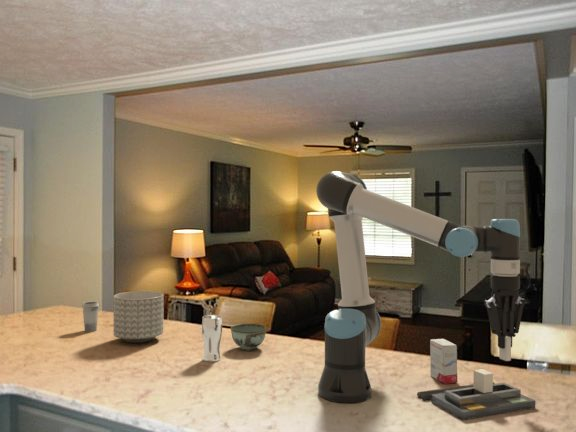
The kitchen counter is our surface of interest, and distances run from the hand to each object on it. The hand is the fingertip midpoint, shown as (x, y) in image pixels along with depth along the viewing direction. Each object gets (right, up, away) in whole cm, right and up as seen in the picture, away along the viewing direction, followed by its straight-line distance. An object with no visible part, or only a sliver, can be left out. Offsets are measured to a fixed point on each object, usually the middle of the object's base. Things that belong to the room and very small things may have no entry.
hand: (505, 359), depth 143 cm
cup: (-144, -9, +77) cm, 164 cm away
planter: (-120, -10, +61) cm, 135 cm away
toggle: (-7, -10, -2) cm, 12 cm away
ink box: (-12, -12, +19) cm, 25 cm away
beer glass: (-87, -11, +37) cm, 95 cm away
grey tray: (-7, -12, -2) cm, 14 cm away
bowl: (-75, -11, +51) cm, 92 cm away
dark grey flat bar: (-10, -12, +7) cm, 17 cm away
